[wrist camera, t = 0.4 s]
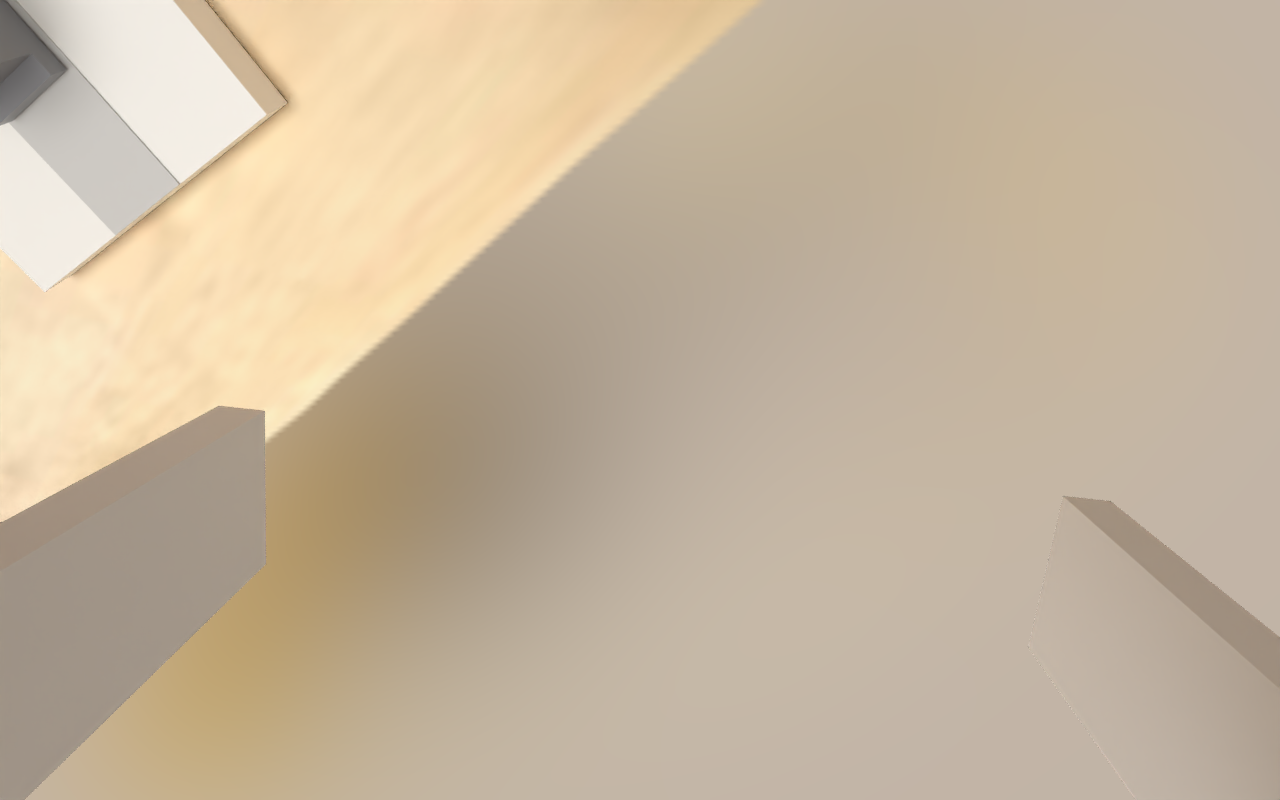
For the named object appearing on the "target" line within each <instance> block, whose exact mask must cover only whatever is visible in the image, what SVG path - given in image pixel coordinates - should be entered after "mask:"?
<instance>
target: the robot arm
mask: <svg viewBox="0 0 1280 800" xmlns="http://www.w3.org/2000/svg"><path fill="white" fill-rule="evenodd" d="M265 511H266V510H265V411H262V410H252V409H243V408H234V407H224V406H218V407H216V408H214V409H212V410H210V411H208V412H207V413H205V414H203V415H201V416H199V417H197V418H195V419H194V420H192V421H190V422H188V423H186V424H184V425H182V426H180V427H179V428H177V429H175V430H173V431H171V432H169V433H167V434H166V435H164V436H162V437H160V438H158V439H156V440H154V441H152V442H151V443H149V444H147V445H145V446H143V447H141V448H139V449H138V450H136V451H134V452H132V453H130V454H128V455H126V456H125V457H123V458H121V459H119V460H117V461H115V462H113V463H111V464H110V465H108V466H106V467H104V468H102V469H100V470H98V471H97V472H95V473H93V474H91V475H89V476H87V477H85V478H84V479H82V480H80V481H78V482H76V483H74V484H72V485H70V486H69V487H67V488H65V489H63V490H61V491H59V492H57V493H56V494H54V495H52V496H50V497H48V498H46V499H44V500H43V501H41V502H39V503H37V504H35V505H33V506H31V507H29V508H28V509H26V510H24V511H22V512H20V513H18V514H16V515H15V516H13V517H11V518H9V519H7V520H5V521H3V522H0V800H25V799H26V798H27V797H28V796H29V795H30V794H31V793H32V792H33V791H34V790H35V789H36V788H37V787H38V786H39V785H40V784H41V783H42V782H43V781H44V780H45V779H46V778H47V777H48V776H49V775H50V774H51V773H52V772H53V771H54V770H55V769H56V768H57V767H58V766H59V765H61V764H62V763H63V761H65V760H66V758H68V757H69V756H70V755H71V754H72V753H73V752H74V751H75V750H76V749H77V748H78V747H79V746H80V745H81V744H82V743H83V742H84V741H85V740H86V739H87V738H88V737H89V736H90V735H91V734H92V733H93V732H94V731H95V730H96V729H97V728H98V727H99V726H100V725H101V724H103V723H104V722H105V721H106V720H107V719H108V718H109V717H110V716H111V715H112V714H113V713H114V712H115V711H116V710H117V709H118V708H119V707H120V706H121V705H122V704H123V703H124V702H125V701H126V700H127V699H128V698H129V697H130V696H131V695H132V694H133V693H134V692H135V691H136V690H137V689H138V688H139V687H140V686H141V685H142V684H143V683H144V682H146V681H147V679H149V678H150V677H151V676H152V675H153V674H154V673H155V672H156V671H157V670H158V669H159V668H160V667H161V666H162V665H163V664H164V663H165V662H166V661H167V660H168V659H169V658H170V657H171V656H172V655H173V654H174V653H175V652H176V651H177V650H178V649H179V648H180V647H181V646H182V645H183V644H184V643H185V642H187V641H188V640H189V639H190V638H191V637H192V636H193V635H194V634H195V633H196V632H197V631H198V630H199V629H200V628H201V627H202V626H203V625H204V624H205V623H206V622H207V621H208V620H209V619H210V618H211V617H212V616H213V615H214V614H215V613H216V612H217V611H218V610H219V609H220V608H221V607H222V606H223V605H224V604H225V603H226V602H227V601H228V600H230V598H232V596H234V595H235V593H237V592H238V591H239V590H240V589H241V588H242V587H243V586H244V585H245V584H246V583H247V582H248V581H249V580H250V579H251V578H252V577H253V576H254V575H255V574H256V573H257V572H258V571H259V570H260V569H261V568H262V567H263V566H264V565H265V564H266V519H265V518H266V515H265V514H266V512H265ZM1028 648H1029V650H1030V651H1031V652H1032V654H1033V655H1034V657H1035V658H1036V660H1037V661H1038V662H1039V664H1040V665H1041V667H1042V668H1043V669H1044V671H1045V672H1046V674H1047V675H1048V677H1049V678H1050V679H1051V681H1052V682H1053V684H1054V685H1055V687H1056V688H1057V689H1058V691H1059V692H1060V694H1061V695H1062V696H1063V698H1064V699H1065V701H1066V702H1067V704H1068V705H1069V706H1070V708H1071V709H1072V711H1073V712H1074V713H1075V715H1076V716H1077V718H1078V719H1079V721H1080V722H1081V723H1082V725H1083V726H1084V728H1085V729H1086V730H1087V732H1088V733H1089V735H1090V736H1091V737H1092V739H1093V740H1094V742H1095V743H1096V745H1097V746H1098V748H1099V749H1100V750H1101V752H1102V753H1103V755H1104V756H1105V757H1106V759H1107V760H1108V762H1109V763H1110V764H1111V766H1112V767H1113V769H1114V770H1115V772H1116V773H1117V775H1118V776H1119V777H1120V779H1121V780H1122V782H1123V783H1124V784H1125V786H1126V787H1127V788H1128V790H1129V791H1130V793H1131V794H1132V796H1133V797H1134V799H1135V800H1280V637H1279V636H1277V635H1276V634H1275V633H1273V631H1271V630H1270V629H1269V628H1268V627H1266V626H1265V625H1264V624H1263V623H1261V622H1260V621H1259V620H1258V619H1256V618H1255V617H1254V616H1253V615H1251V614H1250V613H1249V612H1248V611H1246V610H1245V609H1244V608H1243V607H1242V606H1240V605H1239V604H1238V603H1236V602H1235V601H1234V600H1233V599H1232V598H1230V597H1229V596H1228V595H1227V594H1225V593H1224V592H1223V591H1222V590H1220V589H1219V588H1218V587H1217V586H1215V585H1214V584H1213V583H1212V582H1210V581H1209V580H1208V579H1207V578H1205V577H1204V576H1203V575H1202V574H1200V573H1199V572H1198V571H1197V570H1195V569H1194V568H1193V567H1192V566H1190V565H1189V564H1188V563H1187V562H1185V561H1184V560H1183V559H1182V558H1181V557H1179V556H1178V555H1177V554H1176V553H1174V552H1173V551H1172V550H1171V549H1169V548H1168V547H1167V546H1166V545H1164V544H1163V543H1162V542H1161V541H1159V540H1158V539H1157V538H1156V537H1154V536H1153V535H1152V534H1151V533H1149V532H1148V531H1147V530H1146V529H1144V528H1143V527H1142V526H1141V525H1140V524H1138V523H1137V522H1136V521H1135V520H1133V519H1132V518H1131V517H1130V516H1128V515H1127V514H1126V513H1124V512H1123V511H1122V510H1121V509H1119V508H1118V507H1117V506H1116V505H1115V504H1113V503H1112V502H1111V501H1104V500H1094V499H1086V498H1076V497H1066V496H1063V499H1062V503H1061V507H1060V512H1059V516H1058V521H1057V525H1056V529H1055V533H1054V538H1053V542H1052V546H1051V551H1050V555H1049V559H1048V564H1047V568H1046V573H1045V577H1044V581H1043V586H1042V590H1041V594H1040V598H1039V603H1038V607H1037V611H1036V616H1035V620H1034V625H1033V629H1032V634H1031V637H1030V642H1029V646H1028Z"/></svg>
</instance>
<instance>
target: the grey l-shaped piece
mask: <svg viewBox="0 0 1280 800" xmlns="http://www.w3.org/2000/svg"><path fill="white" fill-rule="evenodd" d="M66 70H67V69H66V68H65V67H64V66H63V65H62V64H61V63H60V62H59V60H58V59H57V58H56V57H55V56H54V55H53V54H52V53H51V52H50V50H49V49H48V48H47V47H46V46H45V45H44V44H43V43H42V41H41V40H40V39H39V38H38V37H37V36H36V35H35V34H34V33H33V31H32V30H31V29H30V28H29V27H28V26H27V25H26V24H25V23H24V21H23V20H22V19H21V18H20V17H19V16H18V15H17V14H16V13H15V11H14V10H13V9H12V8H11V7H10V6H9V5H8V4H7V2H6V1H5V0H0V126H1V125H3V124H6V123H9V122H11V121H13V120H14V119H15V118H16V117H17V116H18V115H19V114H20V113H22V112H23V111H24V110H25V109H26V108H27V107H28V106H29V105H30V104H31V103H32V102H33V101H34V100H35V99H36V98H37V97H39V96H40V95H41V94H42V93H43V92H44V91H45V90H46V89H47V88H48V87H49V86H50V85H51V84H52V83H53V82H55V81H56V80H57V79H58V78H59V77H60V76H61V75H62V74H63V73H64V72H65V71H66Z"/></svg>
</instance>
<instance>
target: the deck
mask: <svg viewBox="0 0 1280 800" xmlns="http://www.w3.org/2000/svg"><path fill="white" fill-rule="evenodd" d="M5 1H6V2H7V4H8V5H9V6H10V7H11V8H12V9H13V10H14V11H15V13H16V14H17V15H18V16H19V17H20V18H21V19H22V20H23V21H24V23H25V24H26V25H27V26H28V27H29V28H30V29H31V30H32V31H33V33H34V34H35V35H36V36H37V37H38V38H39V39H40V40H41V41H42V43H43V44H44V45H45V46H46V47H47V48H48V49H49V50H50V52H51V53H52V54H53V55H54V56H55V57H56V58H57V59H58V60H59V62H60V63H61V64H62V65H63V66H64V67H65V68H66V69H67V70H66V71H65V72H64V73H63V74H62V75H61V76H60V77H59V78H58V79H57V80H56V81H55V82H53V83H52V84H51V85H50V86H49V87H48V88H47V89H46V90H45V91H44V92H43V93H42V94H41V95H40V96H39V97H37V98H36V99H35V100H34V101H33V102H32V103H31V104H30V105H29V106H28V107H27V108H26V109H25V110H24V111H23V112H22V113H20V114H19V115H18V116H17V117H16V118H15V119H14V120H13V121H11V122H9V123H6V124H3V125H1V126H0V248H1V249H2V250H3V251H4V252H5V253H6V254H7V255H8V256H9V257H10V258H11V259H12V260H13V261H14V262H15V263H16V264H17V265H18V266H19V267H20V268H21V269H22V270H23V271H24V272H25V273H26V274H27V275H28V276H29V277H30V278H31V279H32V280H33V281H34V282H35V283H36V284H37V285H38V286H39V287H40V288H41V289H42V290H43V291H44V292H46V291H47V290H49V289H51V288H52V287H54V286H55V285H57V284H58V283H60V282H62V281H63V280H65V279H66V278H68V277H70V276H71V275H72V274H74V273H75V272H76V271H77V270H79V269H80V268H81V267H82V266H84V265H85V264H86V263H87V262H89V261H90V260H91V259H92V258H94V257H95V256H96V255H97V254H99V253H100V252H101V251H103V250H104V249H105V248H106V247H108V246H109V245H110V244H111V243H113V242H114V241H115V240H116V239H118V238H119V237H120V236H121V235H123V234H124V233H125V232H126V231H128V230H129V229H130V228H131V227H133V226H134V225H135V224H136V223H138V222H139V221H140V220H141V219H143V218H144V217H145V216H146V215H148V214H149V213H150V212H151V211H153V210H154V209H155V208H156V207H158V206H159V205H160V204H162V203H163V202H164V201H165V200H167V199H168V198H169V197H170V196H172V195H173V194H174V193H175V192H177V191H178V190H179V189H180V188H182V187H183V186H184V185H185V184H187V183H188V182H189V181H190V180H192V179H193V178H194V177H195V176H197V175H198V174H199V173H200V172H202V171H203V170H204V169H205V168H207V167H208V166H209V165H210V164H212V163H213V162H214V161H215V160H217V159H218V158H219V157H220V156H222V155H223V154H224V153H226V152H227V151H228V150H229V149H231V148H232V147H233V146H234V145H236V144H237V143H238V142H239V141H241V140H242V139H243V138H244V137H246V136H247V135H248V134H249V133H251V132H252V131H253V130H254V129H256V128H257V127H258V126H259V125H261V124H262V123H263V122H264V121H266V120H267V119H268V118H269V117H271V116H272V115H273V114H274V113H276V112H277V111H278V110H279V109H281V108H282V107H283V106H284V105H286V104H287V101H286V100H285V99H284V98H283V96H282V95H281V94H280V93H279V92H278V90H277V89H276V88H275V87H274V85H273V84H272V83H271V82H270V80H269V79H268V78H267V77H266V75H265V74H264V73H263V72H262V70H261V69H260V68H259V67H258V65H257V64H256V63H255V62H254V60H253V59H252V58H251V57H250V56H249V54H248V53H247V52H246V51H245V49H244V48H243V47H242V46H241V44H240V43H239V42H238V41H237V39H236V38H235V37H234V36H233V34H232V33H231V32H230V31H229V29H228V28H227V27H226V26H225V25H224V23H223V22H222V21H221V20H220V18H219V17H218V16H217V15H216V13H215V12H214V11H213V10H212V8H211V7H210V6H209V5H208V3H207V2H206V1H205V0H5Z"/></svg>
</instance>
